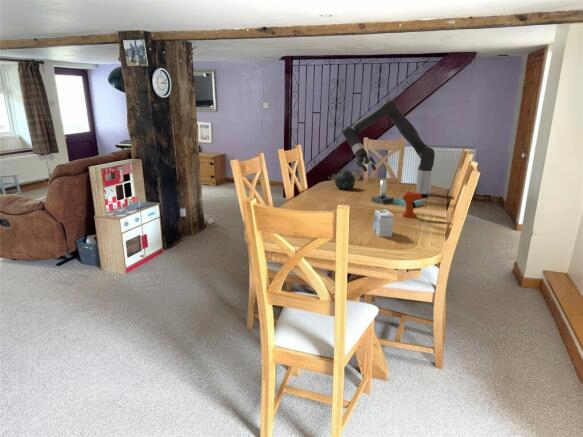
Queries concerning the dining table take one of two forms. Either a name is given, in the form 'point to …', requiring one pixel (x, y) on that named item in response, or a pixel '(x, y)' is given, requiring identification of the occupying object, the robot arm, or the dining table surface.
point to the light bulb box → (383, 223)
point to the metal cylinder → (383, 188)
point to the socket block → (382, 199)
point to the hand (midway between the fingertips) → (370, 170)
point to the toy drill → (412, 203)
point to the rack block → (401, 202)
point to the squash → (345, 180)
